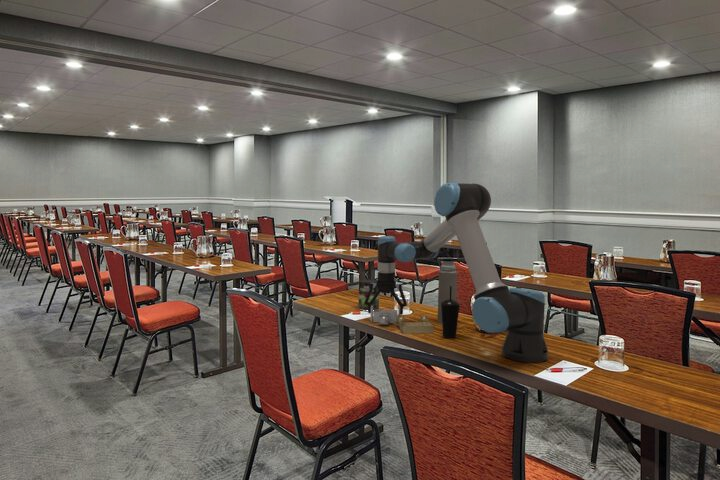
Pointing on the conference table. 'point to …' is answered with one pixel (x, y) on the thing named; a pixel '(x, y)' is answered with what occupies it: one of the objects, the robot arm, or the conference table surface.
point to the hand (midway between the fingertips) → (385, 321)
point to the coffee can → (363, 292)
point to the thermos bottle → (446, 283)
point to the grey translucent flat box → (415, 326)
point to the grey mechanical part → (385, 316)
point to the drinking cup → (450, 316)
